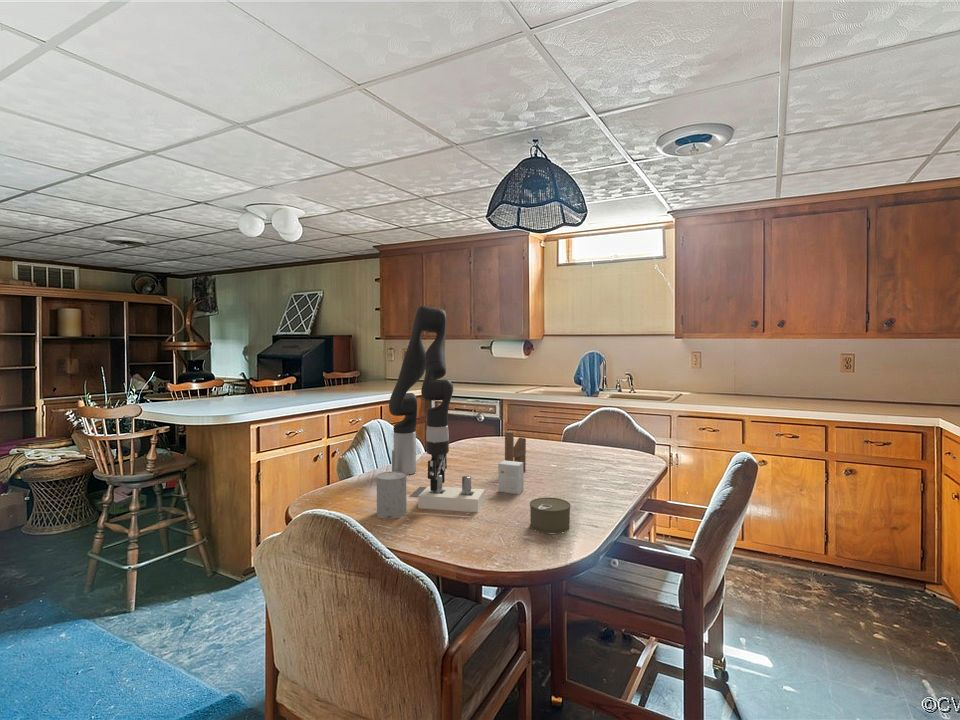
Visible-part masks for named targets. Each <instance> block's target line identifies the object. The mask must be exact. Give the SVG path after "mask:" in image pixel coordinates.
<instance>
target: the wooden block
mask: <svg viewBox="0 0 960 720" xmlns="http://www.w3.org/2000/svg"><path fill="white" fill-rule="evenodd" d="M514 434H515V433H514V431H512V430H506V431H505V432H504V460H505V461H515V462H523V473H525V472H526V467H527V466H526V465H527V464H526V461H527V460H526V454H527V450H526V446H527V445H526V443H527V441H526V440H527V439H526V437H519V436H518V438H517V441H516V443H514V436H515V435H514Z"/></svg>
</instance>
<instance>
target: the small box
mask: <svg viewBox="0 0 960 720" xmlns="http://www.w3.org/2000/svg"><path fill="white" fill-rule="evenodd" d="M497 466H498V468H497V469H498V470H497V471H498V473H497V474H498V477H497V479H498V483H497V485H498V492H499V493H500V492H501V493H507V494H514V495H520V493H522V492H523V491H524V487H525V486H524V485H525V484H524V481H525V480H524V478H525V477H524V472H523V462H515V461H505V459H504V460H502V461H501V462H498V464H497Z"/></svg>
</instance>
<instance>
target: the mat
mask: <svg viewBox="0 0 960 720" xmlns="http://www.w3.org/2000/svg"><path fill="white" fill-rule="evenodd" d="M427 487H428V486H419V487H418V488H416V490H415V491H413V492H412V493H411V495H409V496H408V497H409V498H418V495H419V494H420V493H421V492H422V491H424V490H425V489H426V488H427Z"/></svg>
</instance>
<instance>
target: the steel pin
mask: <svg viewBox="0 0 960 720" xmlns="http://www.w3.org/2000/svg"><path fill="white" fill-rule="evenodd" d="M442 487H443V483H442V475H441V474H438V479H437V491H433V493H436V494H442Z"/></svg>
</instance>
